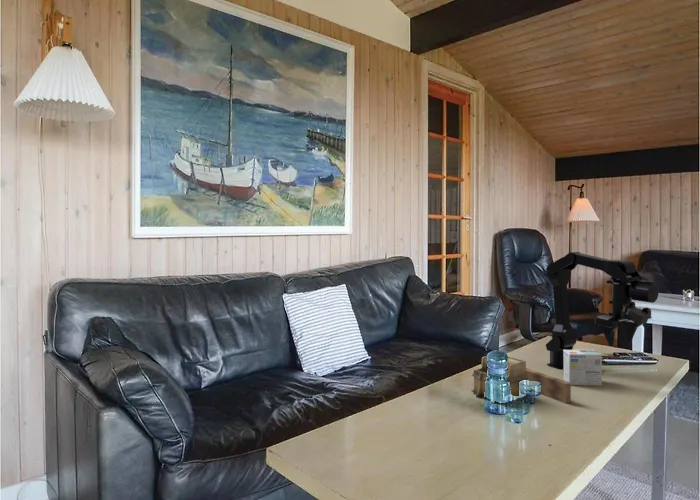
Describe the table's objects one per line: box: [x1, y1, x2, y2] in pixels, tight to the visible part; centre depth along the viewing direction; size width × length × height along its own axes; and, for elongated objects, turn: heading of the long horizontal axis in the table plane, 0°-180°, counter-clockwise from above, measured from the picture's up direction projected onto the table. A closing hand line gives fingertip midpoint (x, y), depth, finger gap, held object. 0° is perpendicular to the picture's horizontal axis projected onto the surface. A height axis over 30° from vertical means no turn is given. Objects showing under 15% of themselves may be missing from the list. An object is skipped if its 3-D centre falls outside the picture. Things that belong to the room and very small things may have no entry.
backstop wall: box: [526, 367, 572, 404], centre depth 156 cm, size 22×2×6 cm, turn 26°
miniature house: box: [470, 355, 528, 399], centre depth 155 cm, size 15×14×11 cm
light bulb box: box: [563, 349, 603, 386], centre depth 165 cm, size 11×7×11 cm, turn 84°
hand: (620, 344), depth 162 cm, fingers open, 9 cm apart
